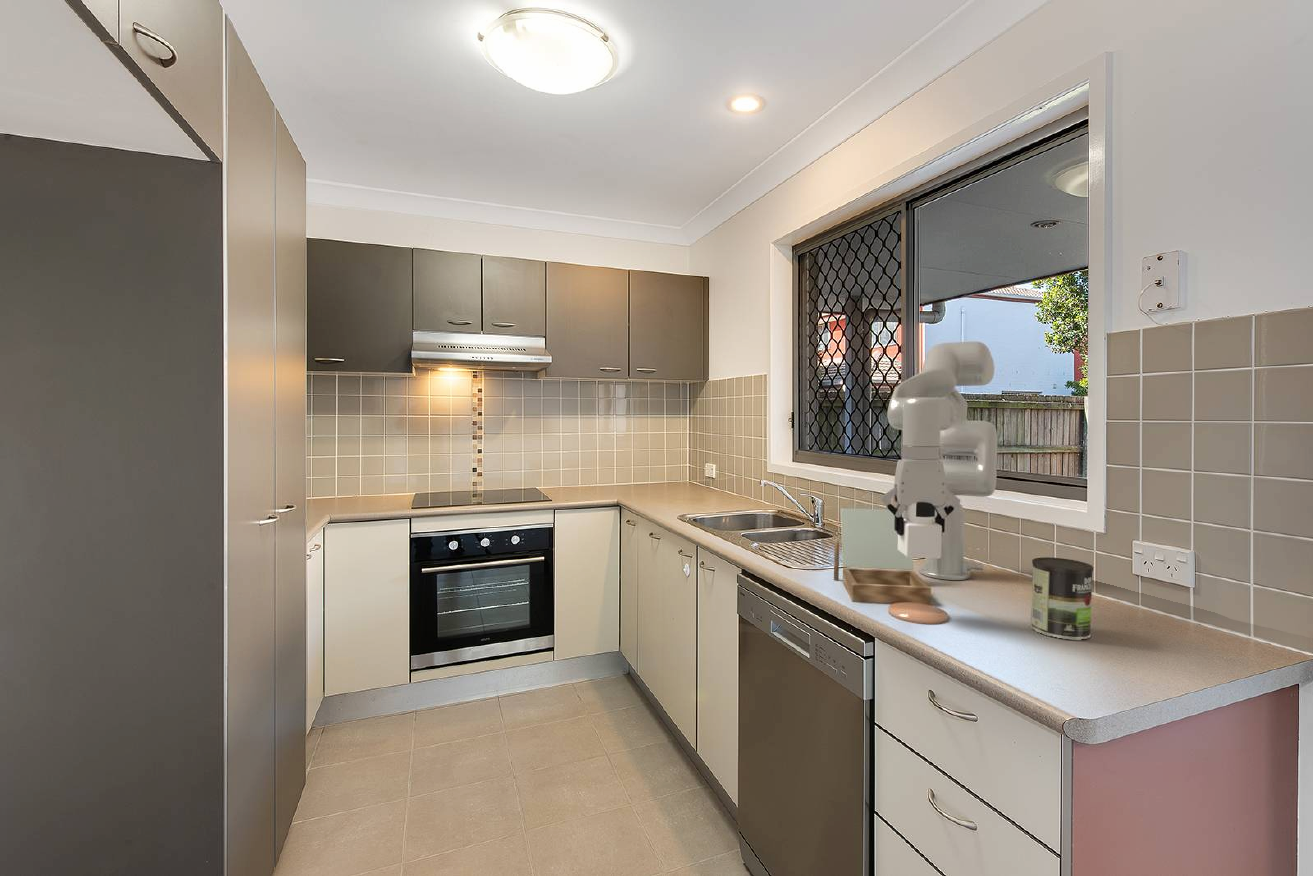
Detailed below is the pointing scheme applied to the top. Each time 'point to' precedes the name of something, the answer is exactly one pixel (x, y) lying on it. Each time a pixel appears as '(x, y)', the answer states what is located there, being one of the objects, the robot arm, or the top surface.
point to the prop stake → (836, 559)
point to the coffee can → (1061, 598)
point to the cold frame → (885, 586)
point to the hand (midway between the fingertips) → (919, 534)
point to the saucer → (918, 613)
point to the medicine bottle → (920, 532)
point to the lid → (871, 540)
